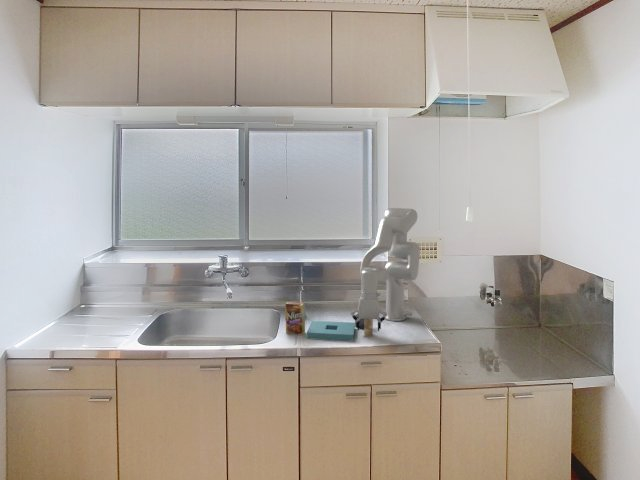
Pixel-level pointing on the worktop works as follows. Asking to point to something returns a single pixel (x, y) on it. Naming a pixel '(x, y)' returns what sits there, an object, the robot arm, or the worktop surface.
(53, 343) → the worktop surface
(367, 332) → the square bit
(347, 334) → the socket block
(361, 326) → the round bit
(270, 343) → the worktop surface
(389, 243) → the robot arm
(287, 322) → the candy box
